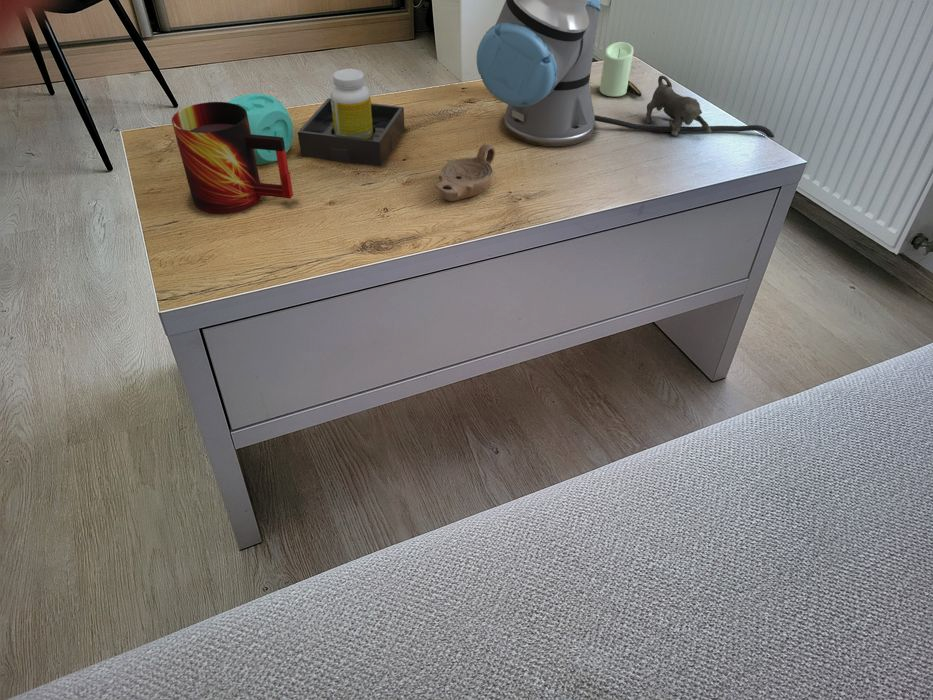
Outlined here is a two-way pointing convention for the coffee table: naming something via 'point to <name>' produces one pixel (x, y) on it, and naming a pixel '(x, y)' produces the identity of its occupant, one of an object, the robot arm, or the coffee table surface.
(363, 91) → the pill bottle
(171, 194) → the coffee table surface
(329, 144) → the dark grey storage tray
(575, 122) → the robot arm
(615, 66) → the candle
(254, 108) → the decorative dice
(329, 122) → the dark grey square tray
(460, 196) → the oil lamp
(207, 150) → the mug
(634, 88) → the dark small wedge
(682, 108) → the dog figurine
